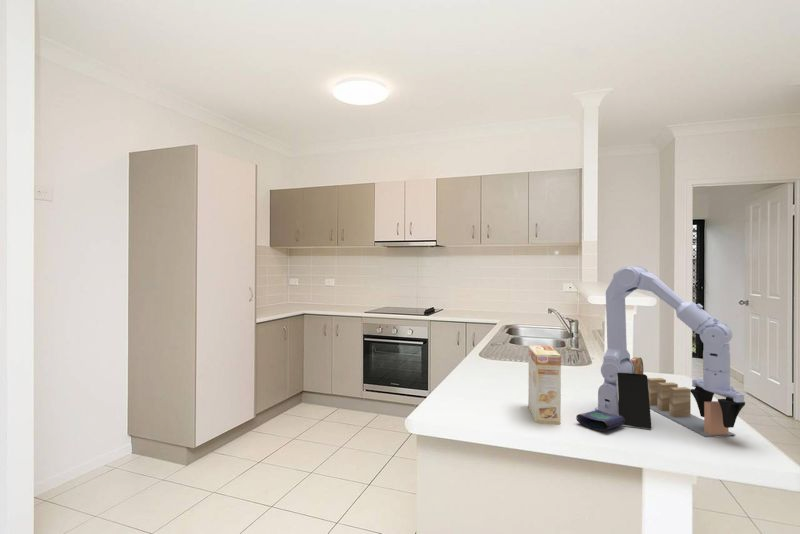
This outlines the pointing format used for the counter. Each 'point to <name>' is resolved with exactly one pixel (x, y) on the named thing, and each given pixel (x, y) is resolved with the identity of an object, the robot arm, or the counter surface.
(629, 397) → the smartphone
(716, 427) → the domino
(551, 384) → the coffeecake box
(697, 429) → the mat
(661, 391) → the domino
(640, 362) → the tin
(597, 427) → the navy pouch
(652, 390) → the domino
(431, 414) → the counter surface
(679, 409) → the domino
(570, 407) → the counter surface
